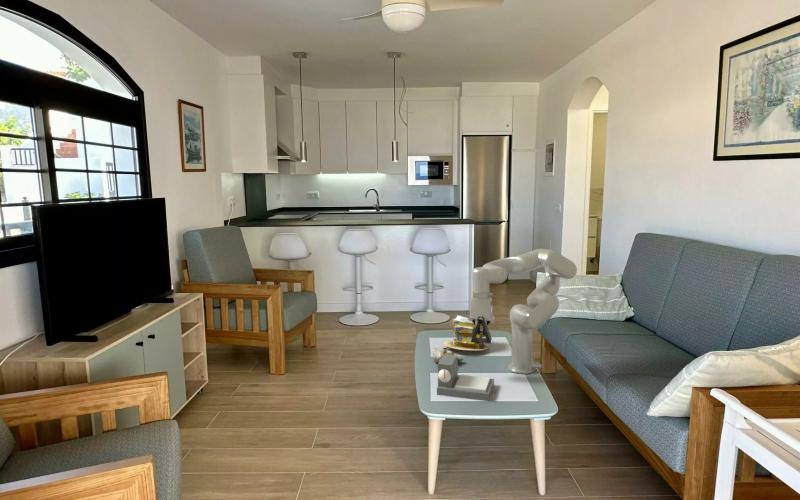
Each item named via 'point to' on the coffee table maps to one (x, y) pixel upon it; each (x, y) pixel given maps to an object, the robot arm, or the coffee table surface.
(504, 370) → the coffee table surface
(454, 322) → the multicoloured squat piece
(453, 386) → the grey bracket with tile
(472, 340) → the phone stand
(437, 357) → the ceramic sculpture
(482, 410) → the coffee table surface
